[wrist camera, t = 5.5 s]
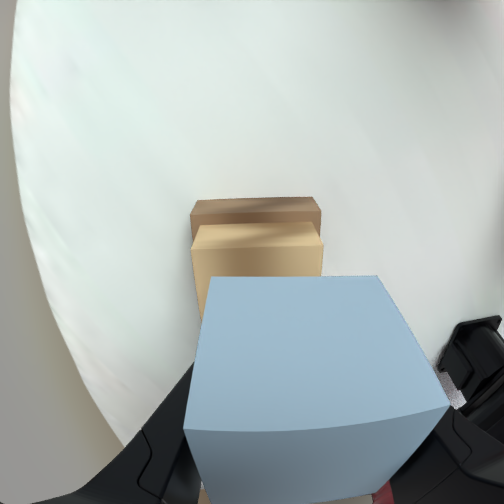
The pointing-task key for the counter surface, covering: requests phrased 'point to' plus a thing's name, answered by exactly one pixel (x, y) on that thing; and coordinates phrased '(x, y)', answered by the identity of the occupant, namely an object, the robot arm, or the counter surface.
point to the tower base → (255, 211)
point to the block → (306, 390)
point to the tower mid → (254, 252)
